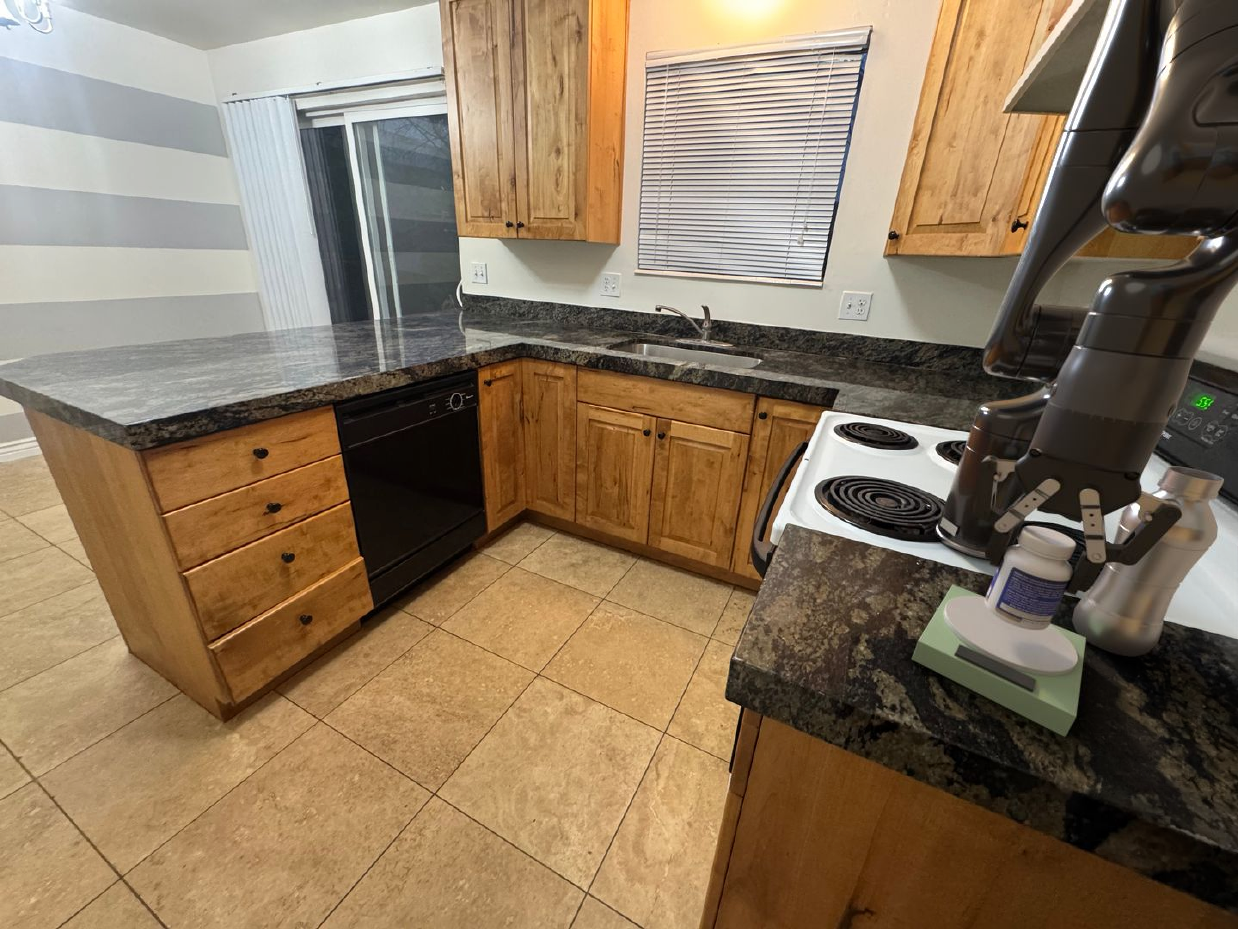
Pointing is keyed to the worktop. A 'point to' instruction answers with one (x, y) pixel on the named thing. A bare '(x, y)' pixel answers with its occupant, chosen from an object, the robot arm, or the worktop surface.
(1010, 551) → the pill bottle
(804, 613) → the worktop surface
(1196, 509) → the silver metal bottle
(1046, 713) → the kitchen scale
